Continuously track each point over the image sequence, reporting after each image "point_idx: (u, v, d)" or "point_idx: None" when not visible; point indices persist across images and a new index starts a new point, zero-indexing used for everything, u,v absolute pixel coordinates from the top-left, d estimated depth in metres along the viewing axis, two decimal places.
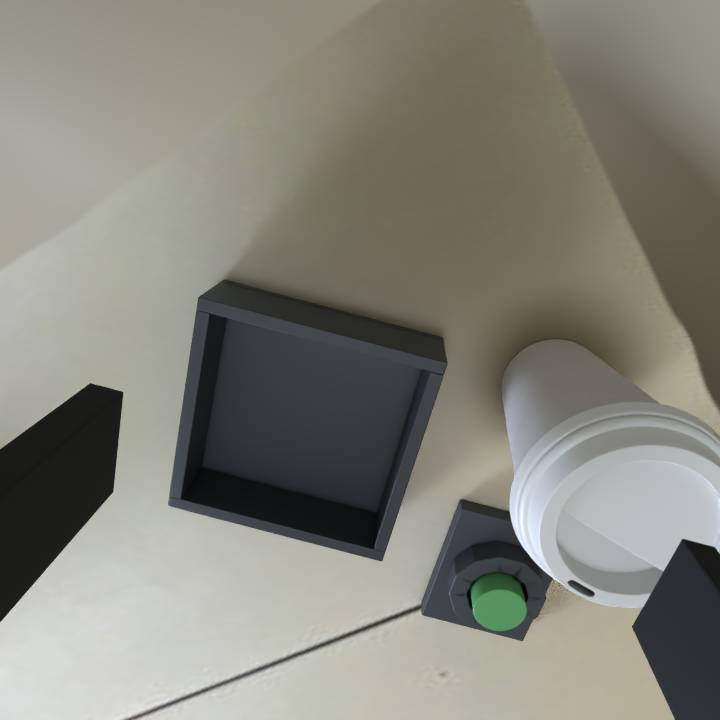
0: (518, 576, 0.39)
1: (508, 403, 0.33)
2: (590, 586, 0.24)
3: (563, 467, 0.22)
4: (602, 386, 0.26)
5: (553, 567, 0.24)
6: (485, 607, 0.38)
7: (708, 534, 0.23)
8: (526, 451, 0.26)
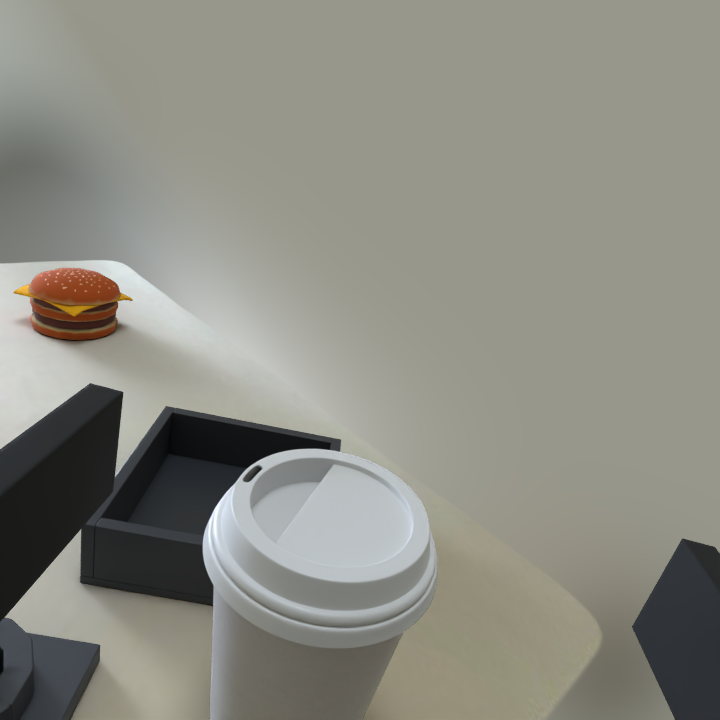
0: None
1: None
2: (256, 479, 0.23)
3: None
4: None
5: (274, 456, 0.24)
6: None
7: (340, 564, 0.20)
8: None
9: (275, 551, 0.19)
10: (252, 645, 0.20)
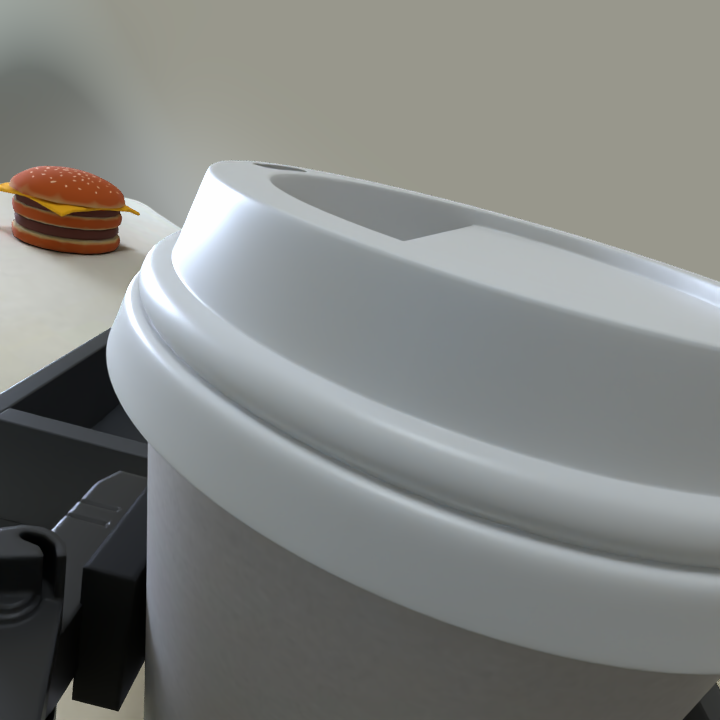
0: None
1: None
2: (290, 174, 0.08)
3: None
4: None
5: (337, 175, 0.10)
6: None
7: None
8: None
9: (363, 233, 0.05)
10: (245, 635, 0.05)
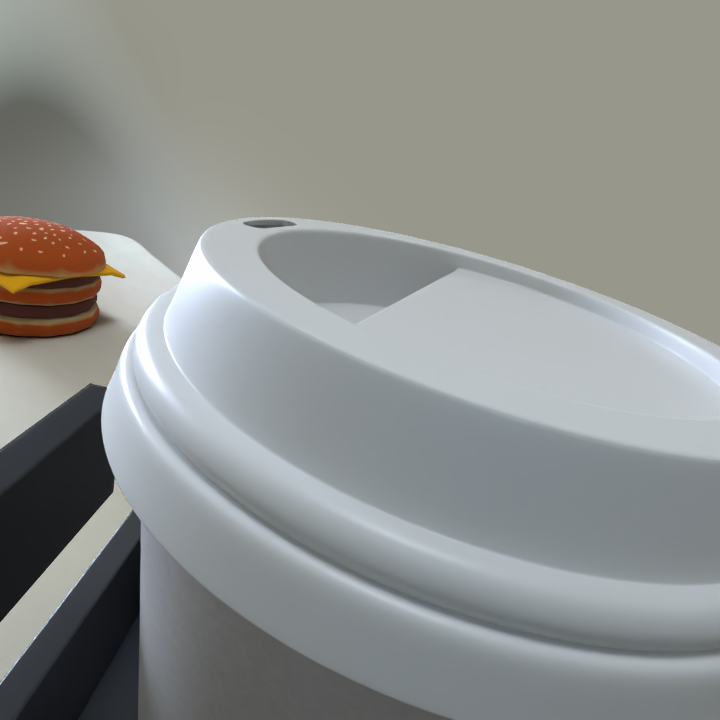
0: None
1: None
2: (279, 232, 0.08)
3: None
4: None
5: (326, 224, 0.10)
6: None
7: None
8: None
9: (339, 329, 0.05)
10: (230, 692, 0.06)
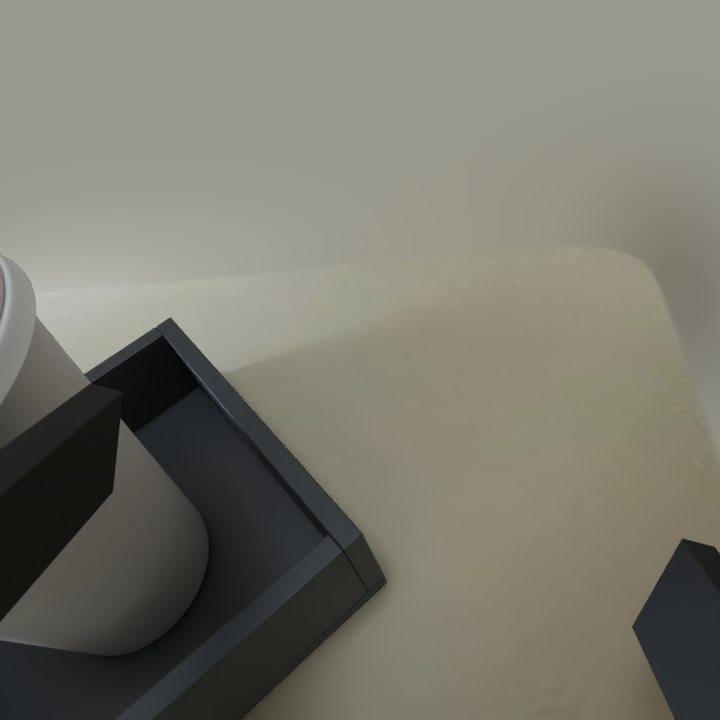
0: None
1: None
2: None
3: None
4: None
5: None
6: None
7: None
8: None
9: None
10: None
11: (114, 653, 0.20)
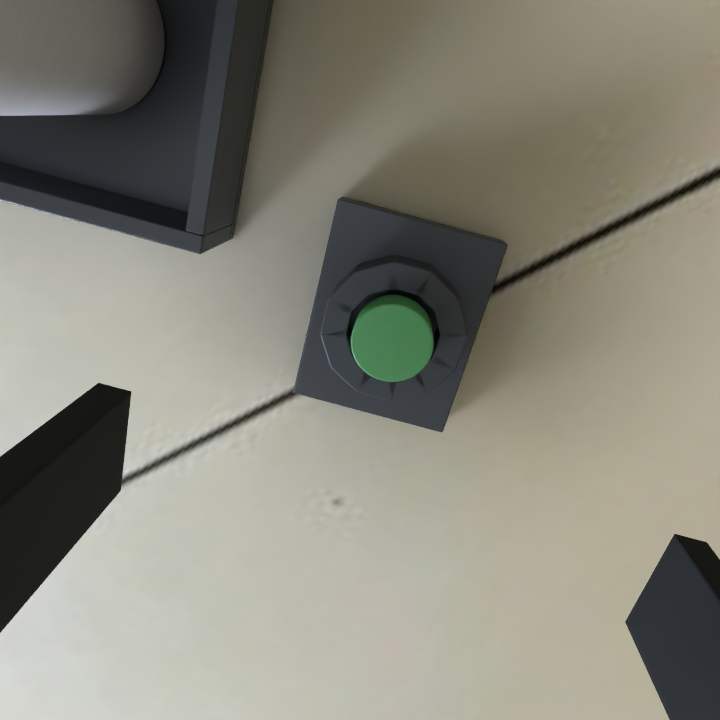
0: (422, 296, 0.25)
1: None
2: None
3: None
4: None
5: None
6: (369, 338, 0.24)
7: None
8: None
9: None
10: None
11: (143, 92, 0.24)
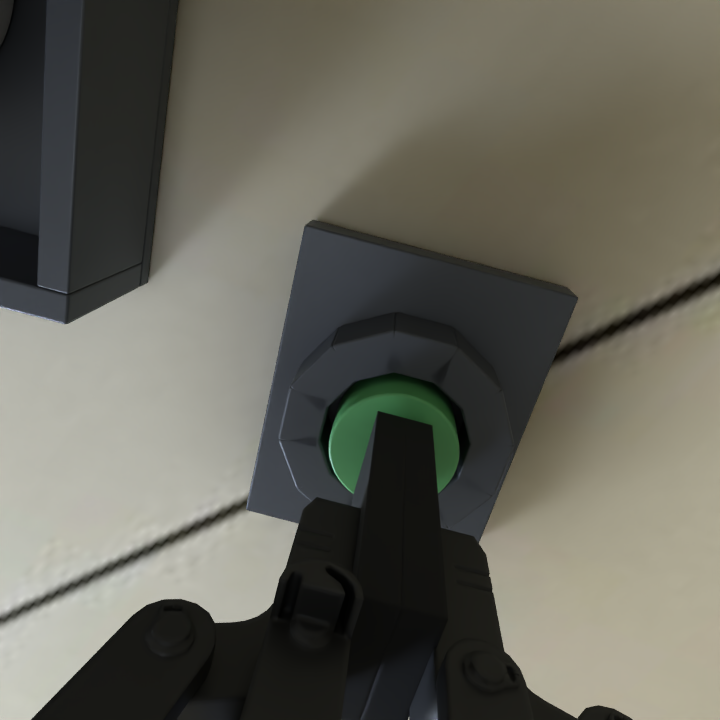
0: (442, 384, 0.15)
1: None
2: None
3: None
4: None
5: None
6: (357, 444, 0.15)
7: None
8: None
9: None
10: None
11: None
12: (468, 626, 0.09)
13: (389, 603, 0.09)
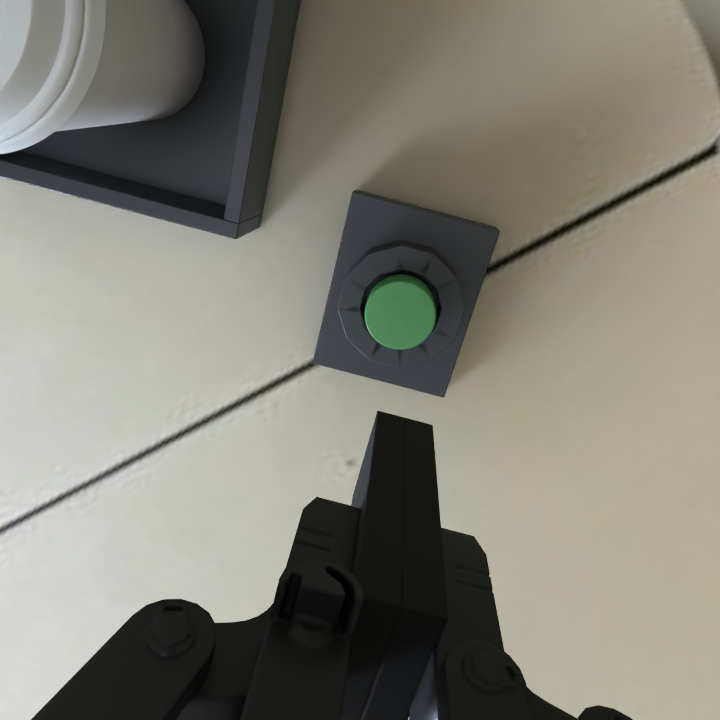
0: (426, 275, 0.29)
1: None
2: None
3: None
4: None
5: None
6: (380, 311, 0.28)
7: None
8: None
9: None
10: (95, 91, 0.19)
11: (186, 101, 0.29)
12: (468, 627, 0.09)
13: (389, 603, 0.09)
